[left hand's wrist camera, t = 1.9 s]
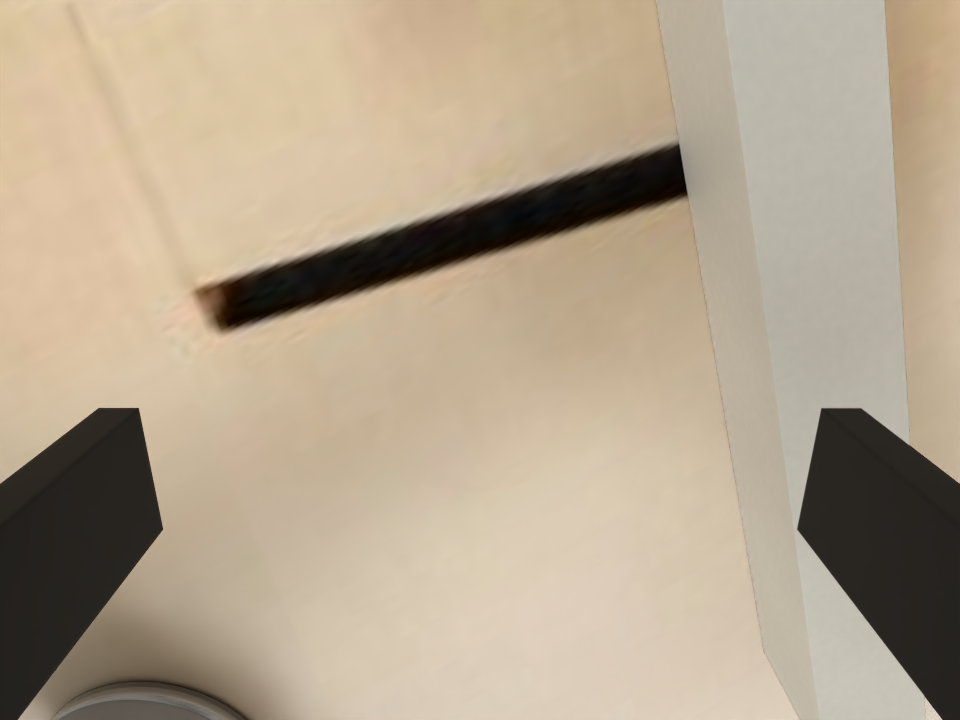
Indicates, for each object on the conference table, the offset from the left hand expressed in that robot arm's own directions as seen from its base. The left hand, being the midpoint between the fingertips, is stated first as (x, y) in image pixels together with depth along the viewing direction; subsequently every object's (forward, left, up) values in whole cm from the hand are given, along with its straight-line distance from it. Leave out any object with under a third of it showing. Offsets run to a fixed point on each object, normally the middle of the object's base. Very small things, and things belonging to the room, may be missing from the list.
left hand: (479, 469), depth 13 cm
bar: (+8, -10, -20) cm, 24 cm away
